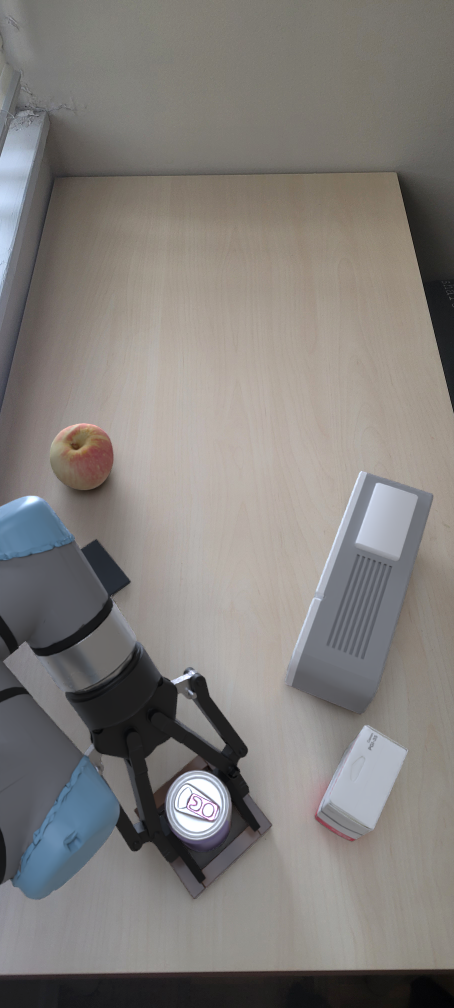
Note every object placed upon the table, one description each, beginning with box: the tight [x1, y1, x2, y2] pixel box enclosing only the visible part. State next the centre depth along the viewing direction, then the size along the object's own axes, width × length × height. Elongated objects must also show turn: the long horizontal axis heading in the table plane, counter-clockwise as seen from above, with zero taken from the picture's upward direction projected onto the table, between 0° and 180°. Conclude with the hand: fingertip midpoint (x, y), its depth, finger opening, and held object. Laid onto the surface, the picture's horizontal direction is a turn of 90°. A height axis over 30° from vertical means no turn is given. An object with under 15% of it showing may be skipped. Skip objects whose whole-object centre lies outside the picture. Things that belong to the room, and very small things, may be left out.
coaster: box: [80, 538, 131, 598], centre depth 83 cm, size 8×8×1 cm
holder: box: [133, 754, 273, 900], centre depth 67 cm, size 10×10×4 cm
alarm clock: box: [284, 470, 434, 715], centre depth 76 cm, size 27×9×12 cm, turn 158°
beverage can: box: [163, 770, 233, 853], centre depth 62 cm, size 6×6×15 cm
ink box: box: [314, 724, 409, 842], centre depth 65 cm, size 9×5×12 cm, turn 148°
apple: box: [49, 422, 115, 491], centre depth 89 cm, size 9×9×8 cm
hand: (224, 846), depth 61 cm, fingers closed on beverage can, 6 cm apart
